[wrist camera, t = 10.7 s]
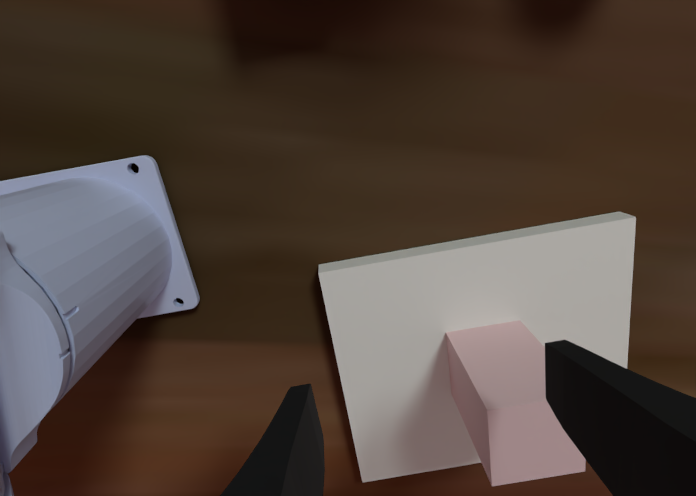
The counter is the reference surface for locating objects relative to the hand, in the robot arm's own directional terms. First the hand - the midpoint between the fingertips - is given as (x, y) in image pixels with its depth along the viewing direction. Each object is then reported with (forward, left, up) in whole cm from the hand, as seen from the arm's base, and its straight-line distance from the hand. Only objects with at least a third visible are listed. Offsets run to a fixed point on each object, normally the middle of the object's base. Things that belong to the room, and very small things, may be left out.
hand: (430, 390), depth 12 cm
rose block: (+5, -6, -9) cm, 11 cm away
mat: (+5, -6, -10) cm, 12 cm away
